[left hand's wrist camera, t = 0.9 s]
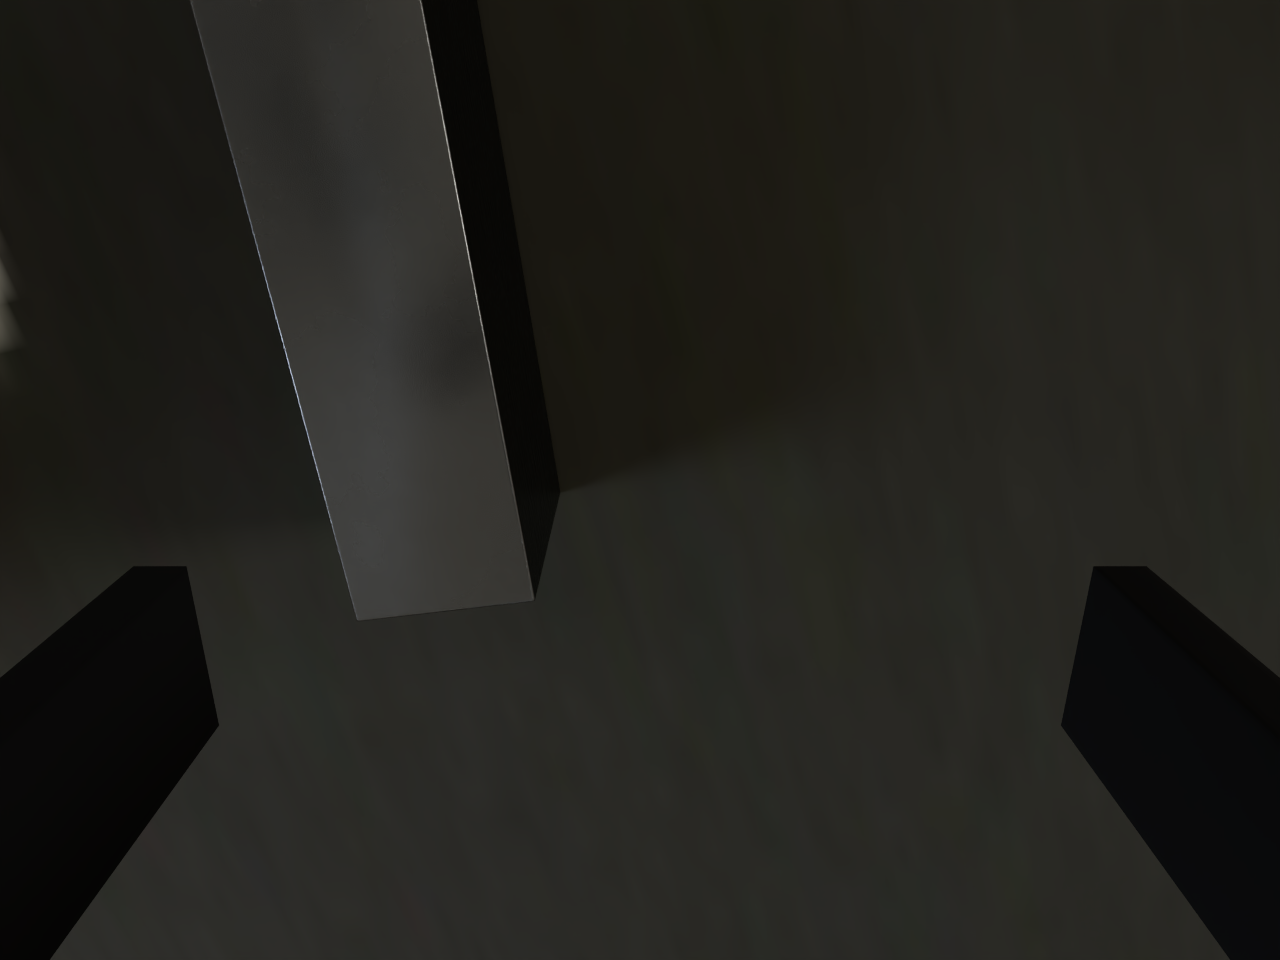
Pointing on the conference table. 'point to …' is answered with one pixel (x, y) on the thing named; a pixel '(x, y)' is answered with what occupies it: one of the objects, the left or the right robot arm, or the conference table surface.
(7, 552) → the conference table surface
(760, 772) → the conference table surface
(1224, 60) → the conference table surface
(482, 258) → the bar
